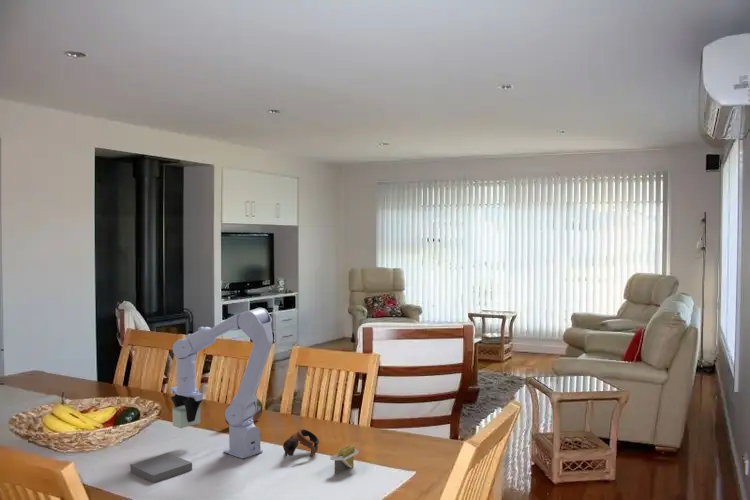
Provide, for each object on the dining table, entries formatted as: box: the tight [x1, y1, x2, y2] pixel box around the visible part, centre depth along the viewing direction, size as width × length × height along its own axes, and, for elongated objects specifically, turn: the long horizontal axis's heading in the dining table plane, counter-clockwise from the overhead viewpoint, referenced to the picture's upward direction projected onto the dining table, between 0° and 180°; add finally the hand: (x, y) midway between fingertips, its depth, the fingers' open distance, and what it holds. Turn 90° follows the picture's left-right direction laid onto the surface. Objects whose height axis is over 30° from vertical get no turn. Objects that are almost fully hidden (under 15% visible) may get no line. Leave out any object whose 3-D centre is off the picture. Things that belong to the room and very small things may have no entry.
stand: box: [129, 452, 193, 484], centre depth 175 cm, size 12×12×2 cm
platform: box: [329, 444, 360, 474], centre depth 176 cm, size 12×18×7 cm, turn 146°
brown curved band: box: [282, 428, 320, 458], centre depth 187 cm, size 12×10×8 cm
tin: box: [224, 398, 263, 426], centre depth 218 cm, size 15×3×8 cm, turn 141°
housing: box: [172, 405, 201, 429], centre depth 195 cm, size 4×7×6 cm, turn 140°
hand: (186, 419), depth 195 cm, fingers closed on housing, 4 cm apart
